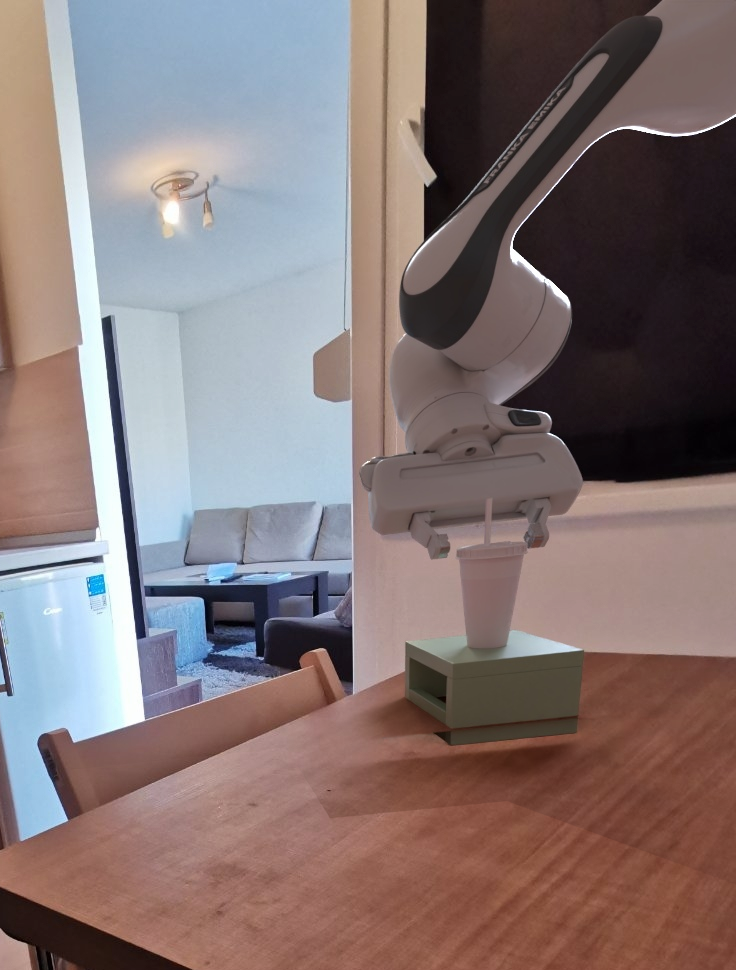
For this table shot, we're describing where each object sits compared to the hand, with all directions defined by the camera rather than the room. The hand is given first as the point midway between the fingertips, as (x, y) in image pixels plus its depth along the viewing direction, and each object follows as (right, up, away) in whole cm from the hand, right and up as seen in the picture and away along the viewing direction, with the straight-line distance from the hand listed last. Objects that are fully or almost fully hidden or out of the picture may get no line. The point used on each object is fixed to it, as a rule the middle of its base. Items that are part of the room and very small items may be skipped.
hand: (490, 549), depth 74 cm
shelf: (+2, -16, +6) cm, 17 cm away
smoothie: (+1, -9, +3) cm, 10 cm away
